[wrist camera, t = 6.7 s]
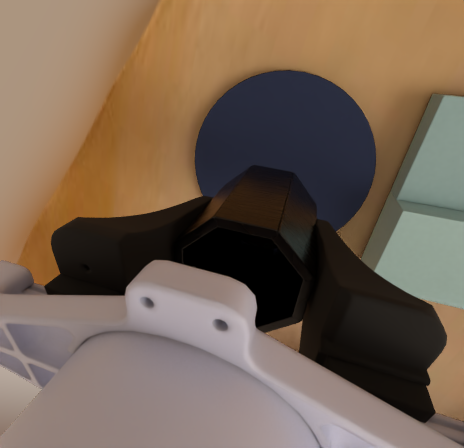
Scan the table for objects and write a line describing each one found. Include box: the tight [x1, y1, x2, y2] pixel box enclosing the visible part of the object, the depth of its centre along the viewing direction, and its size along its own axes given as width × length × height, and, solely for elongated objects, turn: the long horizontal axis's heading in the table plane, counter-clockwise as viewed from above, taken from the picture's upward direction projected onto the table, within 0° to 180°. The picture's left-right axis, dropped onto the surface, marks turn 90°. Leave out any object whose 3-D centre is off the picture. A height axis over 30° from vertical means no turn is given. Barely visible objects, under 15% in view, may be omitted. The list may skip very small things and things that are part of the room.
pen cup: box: [173, 165, 317, 333], centre depth 12 cm, size 5×5×6 cm
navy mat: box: [195, 70, 376, 231], centre depth 21 cm, size 14×14×1 cm
